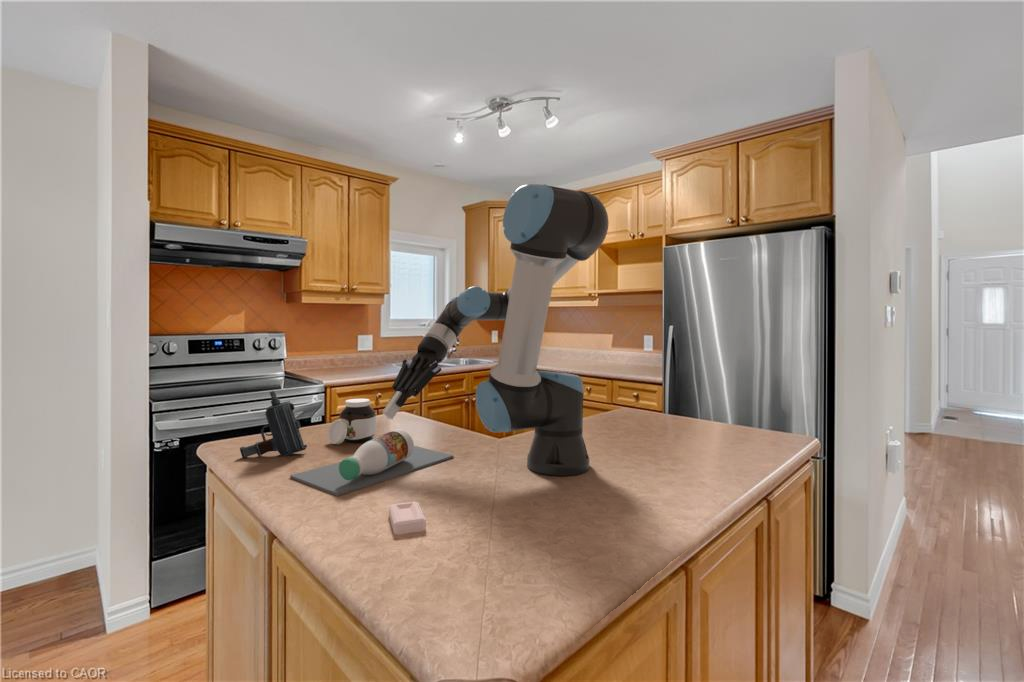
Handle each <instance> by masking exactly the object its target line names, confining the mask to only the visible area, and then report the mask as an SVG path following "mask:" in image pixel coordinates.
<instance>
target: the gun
mask: <svg viewBox="0 0 1024 682" xmlns="http://www.w3.org/2000/svg"><path fill="white" fill-rule="evenodd" d="M269 394H270V398H271V400H270V403H271V405H270V406H268V407H266V411H265V413H264V414H265V418H266V419H267V423H268V424H266V425H264V426H263V427H262V428H261V430H260V435H261V437H262V441H257V442H256V443H255V444H251V445H249V446H241V447H239V451H240V454H241V457H242V459H246V458H248V457H251V456H253V455H254V456H255V455H257V456H258V457H261V456H263V455H264V454H266V453H269V452H276V451H277V452H278V454H280V456H281V457H283V458H284V457H286V456H289V455H292V454H296V453H300V452H302V451H306V449H307V448H308V445H307V444H305V443H304V441H303V438H302V437H303V436H302V435H301V431H300V429H301V428H302V427H301V423H300V420H297V419H296V416H295V413H294V410H295V409H296V408H295V405H294V403H292V402H291V401H290V400H287V401H283V402H281V401H280V398H278V397H277V394H276V391H275V390H273V391H270V392H269ZM265 428H269V430H270V433H264V430H265ZM265 435H266V436H268V437H270V436H271V438H269V439H266V436H265Z"/></svg>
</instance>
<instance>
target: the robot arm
mask: <svg viewBox="0 0 1024 682" xmlns="http://www.w3.org/2000/svg"><path fill="white" fill-rule="evenodd" d="M502 227H503V234H504V237H505V238H506V240H508V241H509V242H510V247H509V250H510V252H511V253H512V254H513V256H514V257H515V262H514V268H513V274H512V279H511V285H510V287H509V288H508V289H506V290H505V291H504V292H488V291H486V290H485V289H483V288H482V287H480V286H475V285H474V286H470V287H468V288H467V289H465V290H464V291H462V292H460V294H459V295H458V296H454V297H452V298H451V299H450V301H449V302H448V303H447V304H446V305H445V306H444V309H443V310H442V312H441V313H440V315H439V316H438V317H437V319H435V322H434V323H433V325H431V327H430V328H429V329H428V330H427V332H426V334H425V335H424V337H423V338H422V340H420V343H418V345H417V353H416V354H415V355H413V357H412V358H411V359H409V360H407V359H404V360H402V363H401V364H402V365H401V367H400V368H399V371H398V374H397V376H396V378H395V379H394V382H393V384H392V385H391V388H392V390H393V391H394V393H393V395H392V396H391V397H390V399H389V401H388V403H387V404H386V406H385V407H384V409H383V410H382V414H383V415H385V417H387V419H390V420H393V419H394V417H395V416H396V415H397V414H398V412H399V411H400V409H401V408H402V407H403V405H404V404H405V403H406V401H407V400H408V399H410V398H411V397H416V396H418V395H419V394H420V393H421V392H422V390H423V389H424V388H425V387H426V386H427V385H428V384H429V383H430V381H432V379H433V378H434V377H435V376H436V375H437V374H439V373H440V372H441V371H442V367H441V366H440V365H439V364H441V363H442V362H443V360H444V359H445V357H446V356H447V355H448V352H449V351H450V350H451V348H452V347H453V345H454V343H455V342H456V341H457V340H458V338H459V336H460V334H461V333H462V332H463V330H464V329H465V328H466V327H467V326H468V325H470V324H471V323H473V322H475V321H505V322H504V326H503V327H504V328H503V331H502V332H503V333H502V337H501V344H500V350H499V351H500V352H499V356H498V362H497V363H496V364H495V365H493V366H492V367H491V368H490V370H489V376H488V380H483V381H481V382H479V384H477V386H476V389H475V390H476V391H475V406H476V410H477V413H478V416H479V420H481V423H482V424H483V426H484V427H485V428H486V429H487V430H488V431H489V432H492V433H510V432H514V431H521V430H529V429H533V428H534V435H533V439H532V441H531V444H530V448H529V452H528V454H527V457H526V466H527V468H528V469H529V470H530V471H533V472H534V473H537V474H541V475H546V476H555V477H557V476H558V477H561V476H562V477H566V476H575V475H581V474H584V473H586V472H588V471H589V470H590V457H589V454H588V450H587V447H586V444H585V440H584V436H583V432H584V431H583V428H584V427H583V425H584V423H583V421H584V419H583V418H584V417H583V416H584V415H583V413H584V395H585V392H584V381H583V379H582V377H581V376H580V375H577V374H572V373H566V372H559V371H551V370H537V366H538V363H539V356H540V353H541V347H542V343H543V337H544V333H545V327H546V321H547V316H548V311H549V306H550V301H551V297H552V296H551V295H552V291H553V286H554V285H555V284H556V283H557V282H558V281H559V280H561V278H563V276H565V275H566V274H567V273H568V272H569V271H570V270H571V269H572V268H574V266H576V265H577V264H578V262H584V261H587V260H588V259H590V257H592V256H593V255H594V254H595V253H596V252H597V251H598V250H599V248H600V247H601V246H602V245H603V243H604V241H605V239H606V237H607V234H608V230H609V216H608V212H607V209H606V207H605V205H604V203H603V202H602V201H601V200H600V199H599V198H598V197H597V196H596V195H594V194H592V193H591V192H587V191H582V190H575V189H570V188H564V187H559V186H558V187H557V186H553V185H548V184H545V183H544V184H539V183H527V184H524V185H521V186H519V187H518V188H517V189H516V190H515V191H514V193H512V195H511V196H510V198H509V199H508V201H507V203H506V205H505V208H504V212H503V217H502Z"/></svg>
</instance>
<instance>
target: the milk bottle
mask: <svg viewBox="0 0 1024 682" xmlns="http://www.w3.org/2000/svg"><path fill="white" fill-rule="evenodd" d="M414 446H415V445H414V440H413V438H412V436H411V435H410V433H409V432H408V431H406V430H404V429H401V428H395V429H393V430H391V431H388V432H387V433H386V432H385V433H383V434H381V435H379V436H376V437H375V438H371V439H370V440H369V441H366V442H363V444H361V445H360V446H359V447H358V449H356V450H355V452H354V454H353V455H352V456H349V457H347V458H346V457H345V458H344V459H342V460H341V461H339V462H340V464H339V472H340V475H341V476H342V477H343V478H344V479H346V480H352V479H354V478H356V477H358V476H359V475H360V474H364V475H374V474H377V473H380V472H382V471H384V470H386V469H388V468H390V467H392V466H394V465H396V464H397V463H399V462H401V461H403V460H405V459H407V458H408V457H409V456H410V455H411V454H412V452H413V448H414Z"/></svg>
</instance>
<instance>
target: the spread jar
mask: <svg viewBox="0 0 1024 682" xmlns="http://www.w3.org/2000/svg"><path fill="white" fill-rule="evenodd" d="M344 405H345V407H344V408H343V410H341V412H340V414H339V416H338V419H334V421H332V422H331V423H330V425H329V426H328V429H327V439H328V442H329V443H330V444H331V445H340V444H342V443H344V442H347V443H349V444H350V443H351V444H359V443H361V444H362V443H366V442H368V441H370V440H372V439H373V437H375V435H376V433H377V426H378V425H377V412H376V411H375V409H374V408H372V407H371V406H370V405H371V400H370V399H369V398H351V399H346V400H345V404H344Z"/></svg>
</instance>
